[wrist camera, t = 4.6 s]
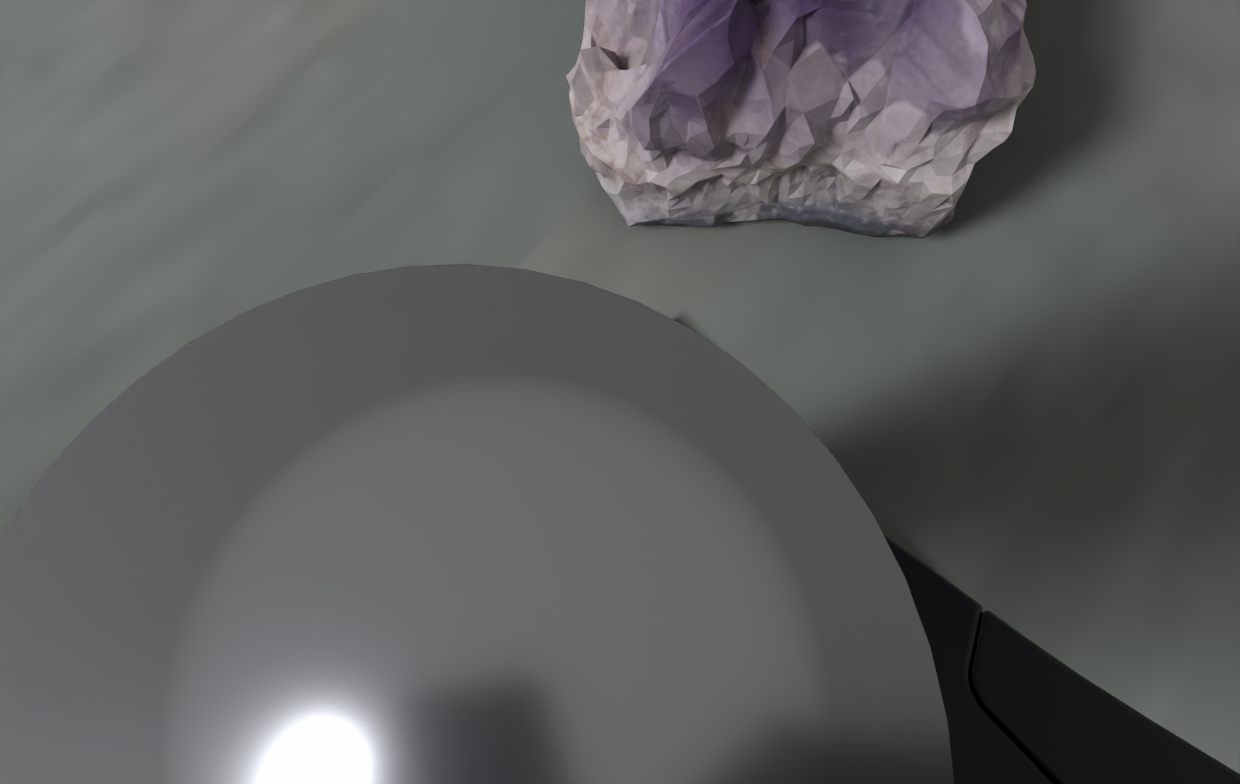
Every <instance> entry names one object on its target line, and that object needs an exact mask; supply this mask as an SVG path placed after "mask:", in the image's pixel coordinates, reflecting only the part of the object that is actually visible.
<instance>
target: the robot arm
mask: <svg viewBox="0 0 1240 784" xmlns="http://www.w3.org/2000/svg"><path fill="white" fill-rule="evenodd" d="M883 535H884V537H885V539H886V541H887V543H888V545H889V547H890V549H891V551H892V553H893V555H894V557H895V559H896V561H897V563H898V564H899V566H900V568H901V570H902V572H903V574H904V576H905V578H906V581H907V584H908V587H909V590H910V592H911V595H912V598H913V601H914V603H915V606H916V609H917V612H918V614H919V617H920V620H921V623H922V625H923V628H924V631H925V634H926V636H927V639H928V642H929V645H930V647H931V652H932V656H933V660H934V665H935V669H936V673H937V678H938V682H939V686H940V691H941V695H942V700H943V704H944V708H945V713H946V717H947V721H948V729H949V738H950V748H951V757H952V767H953V776H954V784H1240V774H1239V773H1237V772H1235V771H1234V770H1232V769H1230V768H1229V767H1227V766H1225V765H1224V764H1222V763H1221V762H1219V761H1217V760H1216V759H1214V758H1212V757H1211V756H1209V755H1207V754H1206V753H1204V752H1202V751H1201V750H1199V749H1198V748H1196V747H1194V746H1193V745H1191V744H1189V743H1188V742H1186V741H1184V740H1183V739H1181V738H1180V737H1178V736H1176V735H1175V734H1173V733H1171V732H1170V731H1168V730H1166V729H1165V728H1163V727H1161V726H1160V725H1158V724H1157V723H1155V722H1153V721H1152V720H1150V719H1148V718H1147V717H1145V716H1144V715H1142V714H1141V713H1139V712H1137V711H1136V710H1134V709H1133V708H1131V707H1130V706H1128V705H1126V704H1125V703H1123V702H1122V701H1120V700H1119V699H1117V698H1115V697H1114V696H1112V695H1111V694H1109V693H1108V692H1106V691H1104V690H1103V689H1101V688H1100V687H1098V686H1096V685H1095V684H1093V683H1092V682H1090V681H1089V680H1087V679H1085V678H1084V677H1082V676H1081V675H1079V674H1078V673H1076V672H1075V671H1073V670H1072V669H1071V668H1069V667H1068V666H1066V665H1065V664H1063V663H1062V662H1061V661H1059V660H1058V659H1056V658H1055V657H1053V656H1052V655H1050V654H1049V653H1048V652H1046V651H1045V650H1043V649H1042V648H1040V647H1039V646H1038V645H1036V644H1035V643H1033V642H1032V641H1030V640H1029V639H1027V638H1026V637H1025V636H1023V635H1022V634H1020V633H1019V632H1018V631H1016V630H1015V629H1014V628H1012V627H1011V626H1009V625H1008V624H1007V623H1005V622H1004V621H1003V620H1001V619H1000V618H998V617H997V616H996V615H994V614H993V613H992V612H990V611H984V612H983V613H982V611H983V608H982V606H981V605H980V604H979V603H977V602H976V601H975V600H973V599H972V598H971V597H969V596H968V595H967V594H965V593H964V592H962V591H961V590H960V589H958V588H957V587H956V586H954V585H953V584H951V583H950V582H949V581H947V580H946V579H945V578H943V577H942V576H941V575H939V574H938V573H936V572H935V571H934V570H932V569H931V568H930V567H928V566H927V565H926V564H924V563H923V562H921V561H920V560H919V559H917V558H916V557H915V556H913V555H912V554H910V553H909V552H908V551H906V550H905V549H904V548H902V547H901V546H900V545H898V544H897V543H895V542H894V541H893V540H891V539H890V538H889V537H887V536H886V535H885V534H883Z"/></svg>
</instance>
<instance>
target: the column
mask: <svg viewBox="0 0 1240 784" xmlns="http://www.w3.org/2000/svg"><path fill="white" fill-rule="evenodd" d="M0 784H954V776H953V767H952V757H951V748H950V738H949V729H948V721H947V717H946V713H945V708H944V704H943V700H942V695H941V691H940V686H939V682H938V678H937V673H936V669H935V665H934V660H933V656H932V652H931V647H930V645H929V642H928V639H927V636H926V634H925V631H924V628H923V625H922V623H921V620H920V617H919V614H918V612H917V609H916V606H915V603H914V601H913V598H912V595H911V592H910V590H909V587H908V584H907V581H906V578H905V576H904V574H903V572H902V570H901V568H900V566H899V564H898V563H897V561H896V559H895V557H894V555H893V553H892V551H891V549H890V547H889V545H888V543H887V541H886V539H885V537H884V535H883V533H882V531H881V529H880V527H879V525H878V523H877V521H876V519H875V517H874V515H873V513H872V512H871V510H870V509H869V508H868V506H867V505H866V503H865V502H864V500H863V499H862V497H861V496H860V494H859V493H858V491H857V490H856V488H855V487H854V485H853V484H852V482H851V481H850V479H849V478H848V476H847V475H846V473H845V472H844V470H843V469H842V467H841V466H840V465H839V463H838V462H837V460H836V459H835V457H834V456H833V455H832V454H831V452H830V451H829V450H828V449H827V448H826V447H825V446H824V444H823V443H822V442H821V441H820V440H819V439H818V438H817V436H816V435H815V434H814V433H813V432H812V431H811V430H810V428H809V427H808V426H807V425H806V424H805V423H804V422H803V420H802V419H801V418H800V417H799V416H798V415H797V414H796V412H795V411H794V410H793V409H792V408H791V407H790V406H789V405H788V404H787V403H786V402H785V401H783V400H782V399H781V398H780V397H779V396H778V395H777V394H776V393H774V392H773V391H772V390H771V389H770V388H769V387H768V386H767V385H765V384H764V383H763V382H762V381H761V380H760V379H759V378H758V377H756V376H755V375H754V374H753V373H752V372H751V371H750V370H749V369H747V368H746V367H745V366H744V365H743V364H742V363H740V362H739V361H737V360H736V359H734V358H733V357H731V356H730V355H728V354H727V353H725V352H724V351H723V350H721V349H720V348H718V347H717V346H715V345H714V344H712V343H711V342H709V341H708V340H706V339H705V338H704V337H702V336H701V335H699V334H698V333H696V332H695V331H693V330H692V329H690V328H688V327H686V326H684V325H682V324H680V323H678V322H676V321H674V320H672V319H670V318H668V317H666V316H664V315H663V314H661V313H659V312H657V311H655V310H653V309H651V308H649V307H647V306H645V305H643V304H641V303H639V302H637V301H634V300H631V299H628V298H626V297H623V296H620V295H617V294H614V293H612V292H609V291H606V290H603V289H600V288H598V287H595V286H592V285H589V284H587V283H584V282H580V281H576V280H571V279H567V278H562V277H558V276H553V275H549V274H544V273H539V272H535V271H530V270H526V269H516V268H505V267H494V266H483V265H472V264H455V265H425V266H407V267H400V268H394V269H388V270H381V271H375V272H369V273H362V274H356V275H351V276H347V277H344V278H340V279H337V280H333V281H330V282H326V283H323V284H319V285H315V286H312V287H308V288H305V289H301V290H298V291H295V292H292V293H290V294H288V295H285V296H283V297H280V298H278V299H276V300H273V301H271V302H268V303H266V304H264V305H261V306H259V307H256V308H254V309H252V310H249V311H247V312H244V313H242V314H240V315H238V316H236V317H235V318H233V319H231V320H229V321H227V322H226V323H224V324H222V325H220V326H218V327H217V328H215V329H213V330H211V331H209V332H208V333H206V334H204V335H202V336H200V337H199V338H197V339H195V340H193V341H191V342H190V343H188V344H187V345H185V346H184V347H182V348H181V349H180V350H178V351H177V352H175V353H174V354H173V355H171V356H170V357H168V358H167V359H166V360H164V361H163V362H161V363H160V364H159V365H157V366H156V367H154V368H153V369H152V370H150V371H149V372H147V373H146V374H145V375H143V376H142V377H140V378H139V379H138V380H137V381H135V382H134V383H133V384H132V385H131V386H130V387H129V388H128V389H127V390H125V391H124V392H123V393H122V394H121V395H120V396H119V397H118V398H116V399H115V400H114V401H113V402H112V403H111V404H110V405H109V406H108V407H106V408H105V409H104V410H103V411H102V412H101V413H100V414H99V415H97V416H96V417H95V418H94V419H93V420H92V421H91V422H90V423H89V424H88V425H87V426H86V427H85V429H84V430H83V431H82V432H81V433H80V434H79V435H78V436H77V437H76V439H75V440H74V441H73V442H72V443H71V444H70V445H69V446H68V447H67V449H66V450H65V451H64V452H63V453H62V454H61V455H60V456H59V457H58V459H57V460H56V461H55V462H54V463H53V464H52V465H51V466H50V467H49V469H48V470H47V471H46V473H45V474H44V475H43V477H42V478H41V479H40V481H39V482H38V484H37V485H36V486H35V488H34V489H33V490H32V492H31V493H30V495H29V496H28V497H27V499H26V500H25V501H24V503H23V504H22V506H21V507H20V508H19V510H18V511H17V512H16V514H15V515H14V517H13V518H12V519H11V521H10V522H9V524H8V525H7V527H6V529H5V531H4V532H3V534H2V536H1V538H0Z"/></svg>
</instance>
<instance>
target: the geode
mask: <svg viewBox="0 0 1240 784" xmlns="http://www.w3.org/2000/svg"><path fill="white" fill-rule="evenodd" d="M1026 8H1027V4H1026V0H586V6H585V26H584V33H583V41H582V47H581V50H580V53H579V56H578V60H577V63H576V65H575V66H574V67H573V69H572V70H571V71H570V72H569V73H568V75H567V76H566V78H567V80H568V83H569V85H570V92H569V98H570V104H571V111H572V117H573V121H574V123H575V126H576V128H577V131H578V133H579V135H580V145H581V152H582V154H583V155H584V157H585V158H586V160H587V162H588V164H589V166H590V167H591V168H592V169H593V170H594V172H595V174H596V176H597V177H598V179H599V181H600V184H601V186H602V187H603V188H604V190H605V191H606V192H607V194H608V195H609V196H610V197H611V199H612V200H613V202H614V204H615V205H616V207H617V209H618V211H619V212H620V214H621V216H622V218H623V220H624V221H625V223H626V225H627V226H628V227H630V226H637V225H646V224H658V225H670V226H696V227H714V226H717V225H720V224H723V223H726V222H742V221H755V220H766V219H777V218H780V219H783V220H786V221H790V222H793V223H797V224H801V225H804V226H825V227H829V228H834V229H838V230H842V231H847V232H851V233H855V234H861V235H867V236H872V237H891V236H906V237H915V238H925V237H927V236H929V235H930V234H932V233H934V232H935V231H937V230H939V229H940V228H942V227H943V226H944V225H946V224H947V223H948V222H950V221H951V220H952V219H953V216H954V210H955V205H956V203H957V201H958V199H959V198H960V196H961V195H962V193H963V190H964V188H965V186H966V183H967V181H968V179H969V177H970V175H971V172H972V170H973V167H974V165H975V163H976V162H977V161H978V160H980V159H981V158H982V157H983V156H985V155H986V154H987V153H989V152H990V151H991V150H992V149H994V148H995V147H997V146H998V145H1000V144H1001V143H1003V142H1004V141H1005V140H1006V139H1007V138H1008V136H1009V135H1010V134H1011V132H1012V129H1013V124H1014V119H1015V114H1016V109H1017V108H1018V107H1019V105H1020V104H1021V103H1022V101H1023V100H1024V98H1025V97H1026V96H1027V94H1028V93H1029V92H1030V90H1031V89H1032V88H1033V85H1034V80H1035V76H1036V68H1035V63H1034V58H1033V55H1032V52H1031V49H1030V47H1029V43H1028V41H1027V38H1026V35H1025V33H1024V30H1023V24H1024V17H1025V11H1026Z"/></svg>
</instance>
